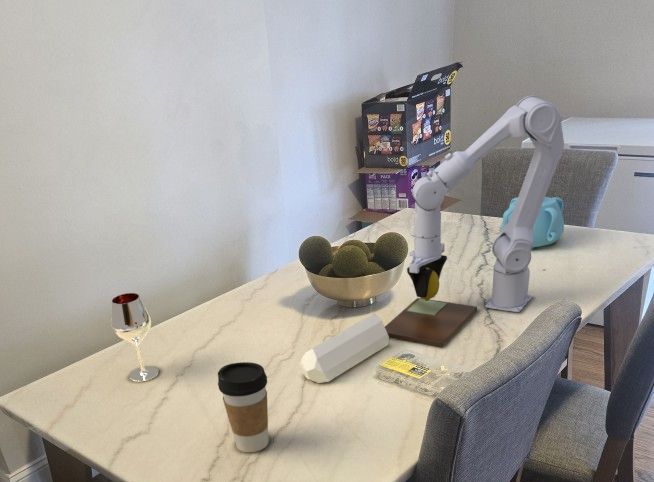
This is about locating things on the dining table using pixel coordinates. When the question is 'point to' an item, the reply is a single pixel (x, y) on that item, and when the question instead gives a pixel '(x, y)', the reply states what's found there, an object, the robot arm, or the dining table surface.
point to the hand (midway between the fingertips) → (427, 291)
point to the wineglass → (132, 328)
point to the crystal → (345, 350)
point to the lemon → (432, 286)
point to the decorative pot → (543, 221)
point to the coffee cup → (246, 404)
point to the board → (429, 322)
